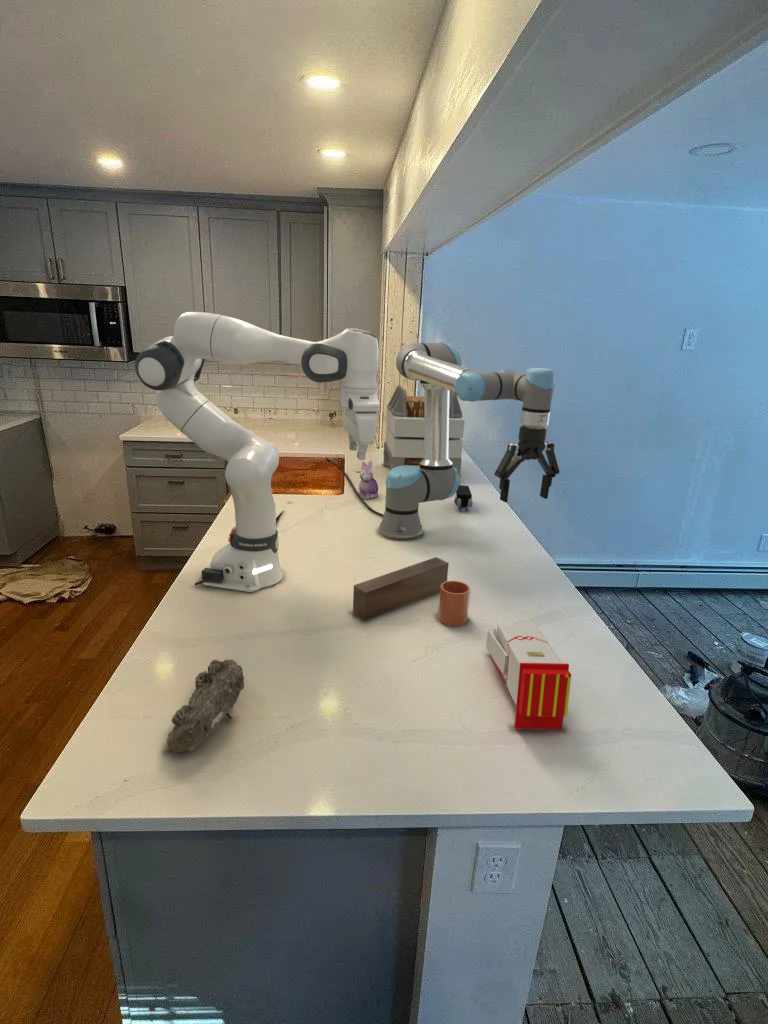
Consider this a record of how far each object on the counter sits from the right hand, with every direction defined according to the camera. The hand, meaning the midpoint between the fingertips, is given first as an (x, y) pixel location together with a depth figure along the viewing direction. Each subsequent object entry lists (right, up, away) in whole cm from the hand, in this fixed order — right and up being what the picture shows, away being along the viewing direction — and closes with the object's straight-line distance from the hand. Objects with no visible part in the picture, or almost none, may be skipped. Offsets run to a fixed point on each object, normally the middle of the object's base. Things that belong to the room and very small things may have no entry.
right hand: (523, 499), depth 163 cm
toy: (-11, -41, -42) cm, 60 cm away
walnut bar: (-35, -28, -9) cm, 46 cm away
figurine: (-47, +3, +75) cm, 88 cm away
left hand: (-47, +11, -22) cm, 53 cm away
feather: (-79, -5, +50) cm, 93 cm away
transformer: (-23, +15, +111) cm, 115 cm away
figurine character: (-9, -2, +66) cm, 67 cm away
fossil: (-73, -43, -55) cm, 101 cm away
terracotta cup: (-23, -31, -17) cm, 42 cm away
